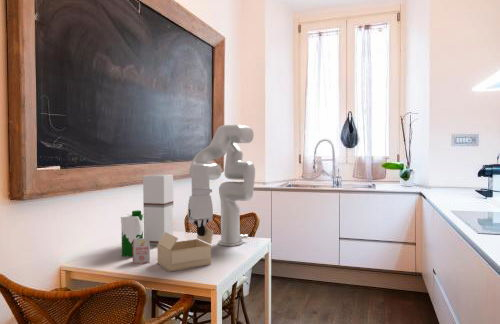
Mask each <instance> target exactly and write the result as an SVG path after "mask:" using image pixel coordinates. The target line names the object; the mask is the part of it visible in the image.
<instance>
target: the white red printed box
mask: <svg viewBox="0 0 500 324" xmlns="http://www.w3.org/2000/svg"><path fill="white" fill-rule="evenodd" d="M150 261H151V245H150V238H144V237H143V239H133V257H132V264H147V263H148V262H149V263H150Z"/></svg>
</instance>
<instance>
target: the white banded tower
mask: <svg viewBox="0 0 500 324" xmlns="http://www.w3.org/2000/svg"><path fill="white" fill-rule="evenodd" d="M142 180H143V184H142V185H143V187H142V190H143V192H142V193H143V197H142V199H143V238H150V246H157V244H158V243H159V241H160V240H161V238H162V237H163V235H164V234H165V232H167V233H169V234H171V235H173V233H174V229H173V225H174V224H173V222H174V219H173V217H174V216H173V208H174V174H152V175H143V176H142ZM173 236H174V235H173Z"/></svg>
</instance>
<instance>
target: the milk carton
mask: <svg viewBox="0 0 500 324" xmlns="http://www.w3.org/2000/svg"><path fill="white" fill-rule="evenodd" d="M120 223H121V225H120V227H121V257H128V258H129V257H132V258H133V239H143V238H144V213H142V210H138V209H137V210H132V211H131V213H128V214H124V215H122V216H120Z"/></svg>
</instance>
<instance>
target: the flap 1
mask: <svg viewBox="0 0 500 324" xmlns="http://www.w3.org/2000/svg"><path fill="white" fill-rule="evenodd" d="M178 240H179V238H178V237H177V236H174V235H171V234H169V233H167V232H165V234H164V235H163V237H162V238H161V240H160V241H159V243H158V244H160V245H162V246H163V247H165V248H167V249H168V250H171V249H172V247H173V246H174V244H175V243H176V242H178Z"/></svg>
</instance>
